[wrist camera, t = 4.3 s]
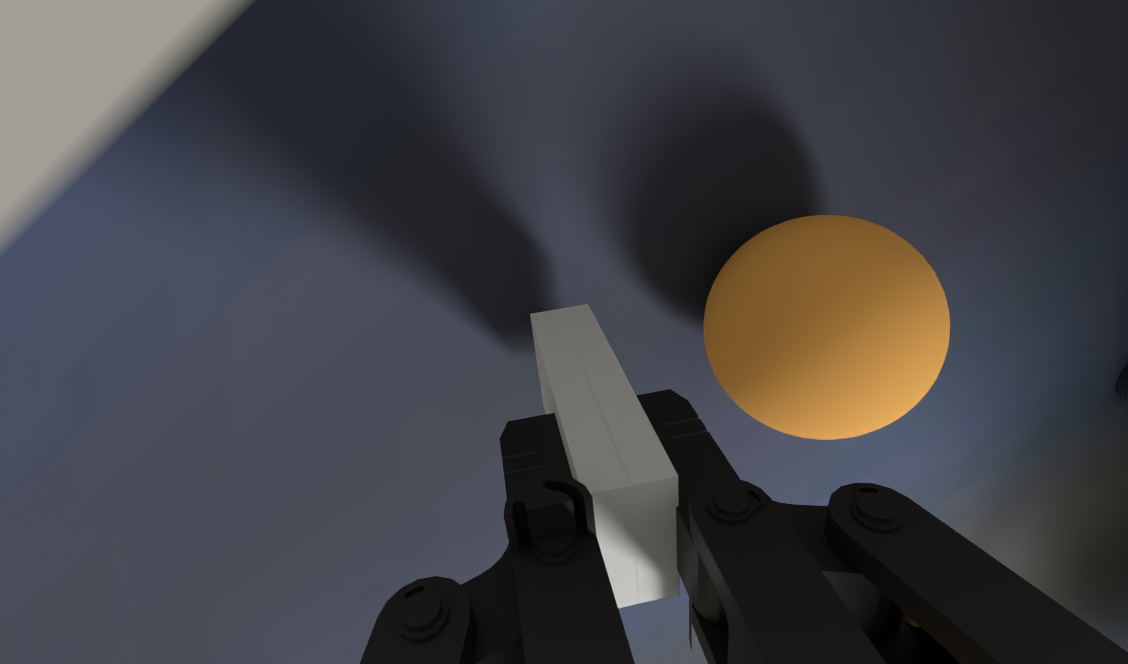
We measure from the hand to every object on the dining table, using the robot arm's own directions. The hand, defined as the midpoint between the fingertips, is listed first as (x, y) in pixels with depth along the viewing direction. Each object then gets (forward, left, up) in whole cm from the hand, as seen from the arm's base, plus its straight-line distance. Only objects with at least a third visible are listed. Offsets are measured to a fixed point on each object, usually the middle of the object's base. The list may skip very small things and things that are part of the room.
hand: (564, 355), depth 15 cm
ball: (0, -6, +1) cm, 6 cm away
